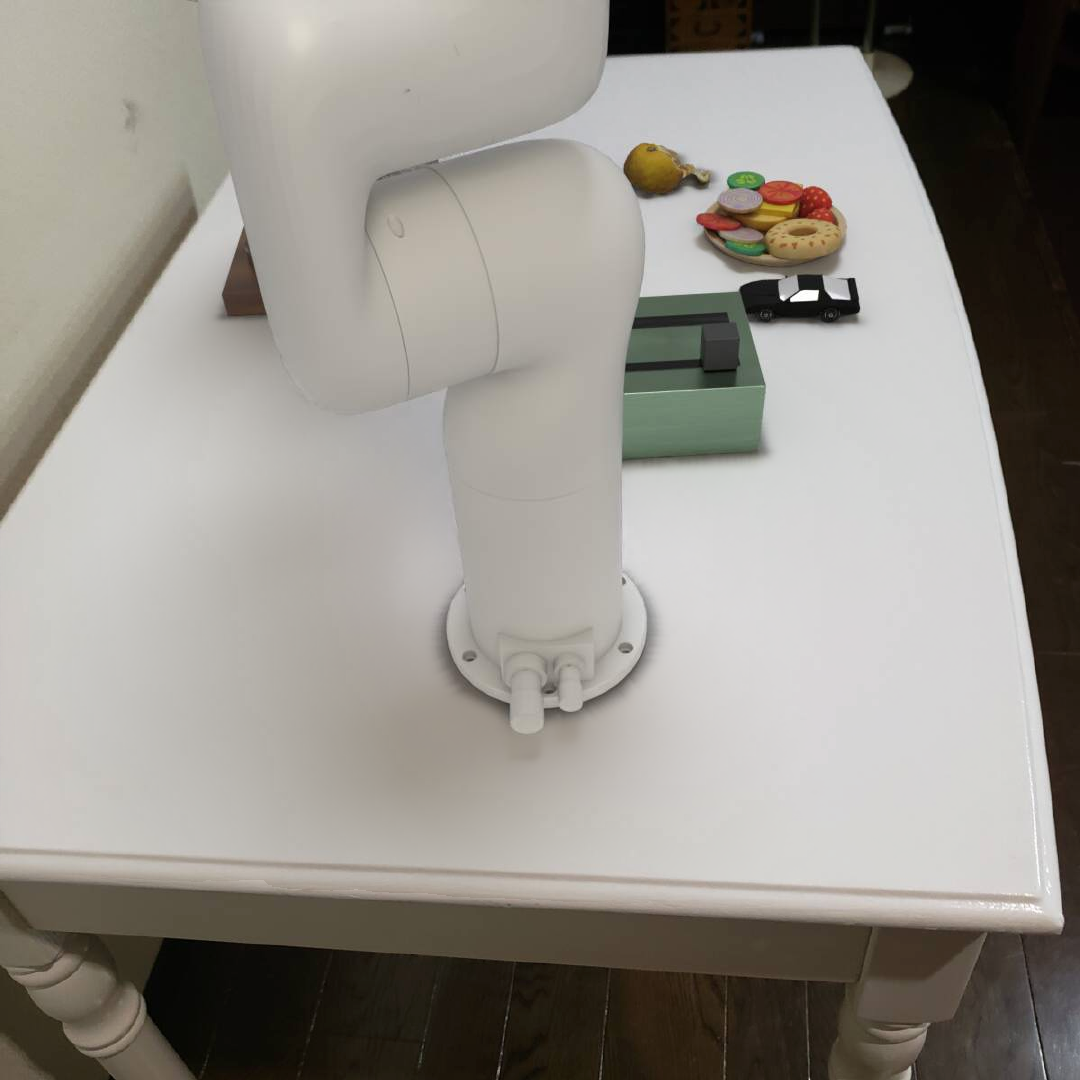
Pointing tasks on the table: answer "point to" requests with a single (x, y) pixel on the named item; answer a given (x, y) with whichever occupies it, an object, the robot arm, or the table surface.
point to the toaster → (689, 381)
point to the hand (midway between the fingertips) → (267, 72)
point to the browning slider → (719, 346)
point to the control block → (242, 283)
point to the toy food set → (773, 221)
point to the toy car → (801, 297)
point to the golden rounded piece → (658, 168)
